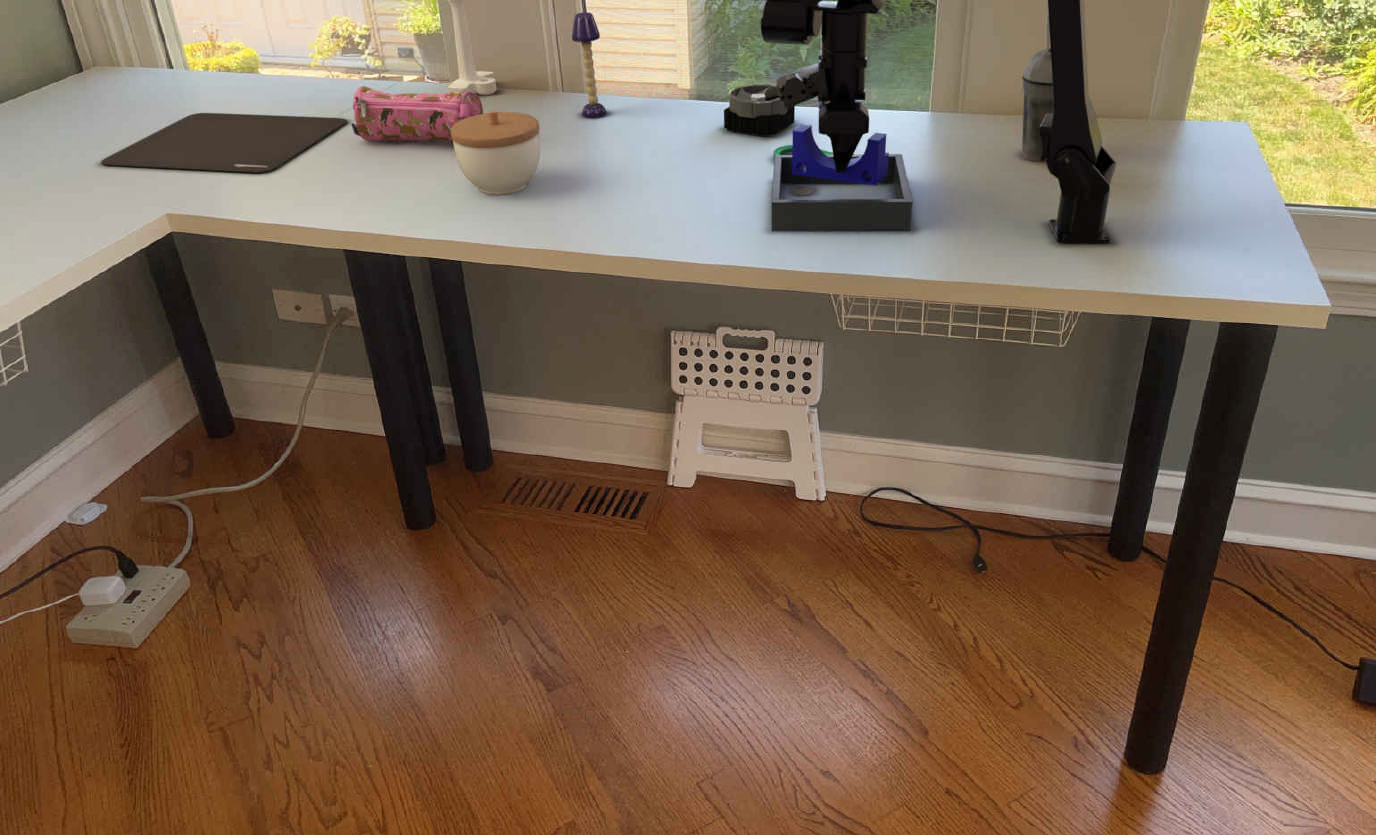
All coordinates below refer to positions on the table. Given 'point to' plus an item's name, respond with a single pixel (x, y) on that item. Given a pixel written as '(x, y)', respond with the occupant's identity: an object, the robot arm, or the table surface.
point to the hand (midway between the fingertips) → (839, 165)
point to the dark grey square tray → (839, 203)
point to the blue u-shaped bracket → (820, 165)
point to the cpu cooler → (757, 111)
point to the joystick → (467, 58)
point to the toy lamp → (588, 60)
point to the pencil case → (411, 114)
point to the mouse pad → (226, 142)
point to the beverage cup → (1037, 99)
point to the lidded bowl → (497, 150)
